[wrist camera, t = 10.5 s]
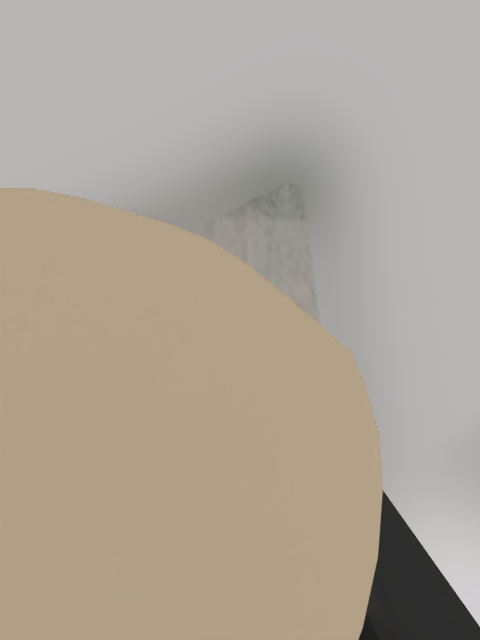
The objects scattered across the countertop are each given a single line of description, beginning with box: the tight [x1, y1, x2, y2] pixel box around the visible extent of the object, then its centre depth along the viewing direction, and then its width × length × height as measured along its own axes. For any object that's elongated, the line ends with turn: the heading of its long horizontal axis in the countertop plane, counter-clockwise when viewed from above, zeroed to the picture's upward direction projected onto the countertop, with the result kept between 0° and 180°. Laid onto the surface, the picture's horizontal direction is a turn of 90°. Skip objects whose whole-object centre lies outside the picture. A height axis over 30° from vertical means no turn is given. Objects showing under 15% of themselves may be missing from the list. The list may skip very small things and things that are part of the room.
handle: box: [0, 188, 383, 640], centre depth 10 cm, size 5×6×15 cm
